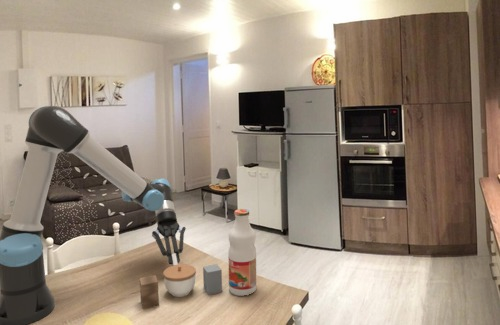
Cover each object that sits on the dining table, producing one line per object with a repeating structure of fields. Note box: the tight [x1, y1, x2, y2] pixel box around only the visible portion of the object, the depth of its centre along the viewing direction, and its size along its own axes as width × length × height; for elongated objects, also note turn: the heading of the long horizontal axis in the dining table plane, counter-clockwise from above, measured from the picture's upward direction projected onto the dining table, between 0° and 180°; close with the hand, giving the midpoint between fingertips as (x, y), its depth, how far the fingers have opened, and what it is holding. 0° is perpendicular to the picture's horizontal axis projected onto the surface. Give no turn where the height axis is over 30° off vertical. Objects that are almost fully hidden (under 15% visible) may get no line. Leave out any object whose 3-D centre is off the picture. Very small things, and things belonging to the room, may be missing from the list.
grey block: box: [202, 263, 223, 296], centre depth 121 cm, size 5×5×8 cm
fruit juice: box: [227, 208, 257, 297], centre depth 119 cm, size 9×9×28 cm
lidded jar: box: [162, 263, 197, 298], centre depth 119 cm, size 11×11×9 cm
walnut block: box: [139, 274, 160, 310], centre depth 113 cm, size 5×5×8 cm
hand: (176, 271), depth 127 cm, fingers closed
